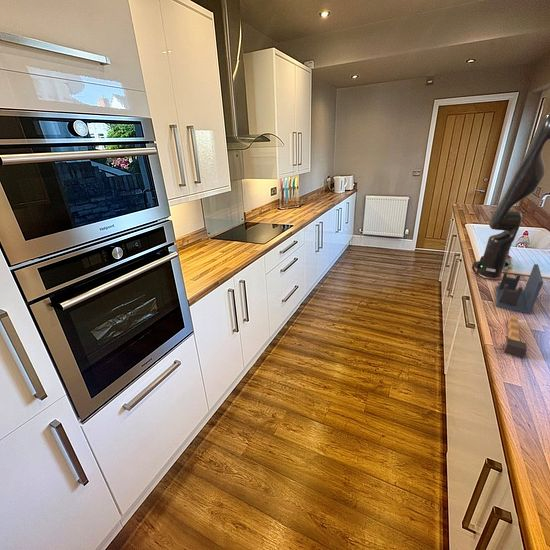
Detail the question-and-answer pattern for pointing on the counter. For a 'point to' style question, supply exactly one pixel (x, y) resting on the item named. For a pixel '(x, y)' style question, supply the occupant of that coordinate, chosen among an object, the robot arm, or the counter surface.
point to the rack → (519, 292)
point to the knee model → (508, 263)
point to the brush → (514, 339)
